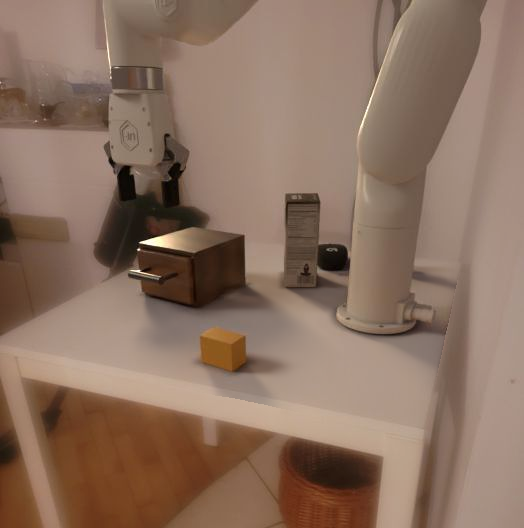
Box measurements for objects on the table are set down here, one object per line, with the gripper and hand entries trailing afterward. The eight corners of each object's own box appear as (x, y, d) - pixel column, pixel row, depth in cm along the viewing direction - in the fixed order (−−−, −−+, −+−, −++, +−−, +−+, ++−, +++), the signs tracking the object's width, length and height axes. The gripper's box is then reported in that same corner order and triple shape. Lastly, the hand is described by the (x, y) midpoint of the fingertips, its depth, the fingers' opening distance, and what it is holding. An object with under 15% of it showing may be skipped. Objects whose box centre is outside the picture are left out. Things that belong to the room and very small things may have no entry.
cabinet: (197, 307, 84) (194, 252, 80) (144, 294, 90) (138, 242, 86) (245, 284, 95) (244, 234, 91) (195, 273, 101) (192, 226, 97)
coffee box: (283, 273, 101) (284, 192, 94) (314, 273, 101) (317, 192, 94) (283, 287, 93) (285, 200, 86) (317, 287, 93) (322, 200, 86)
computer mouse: (314, 271, 102) (315, 252, 101) (311, 255, 113) (311, 238, 111) (350, 271, 102) (352, 252, 100) (343, 255, 113) (345, 238, 111)
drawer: (171, 313, 79) (167, 266, 76) (122, 299, 85) (116, 255, 81) (236, 282, 93) (235, 241, 90) (190, 272, 99) (187, 234, 95)
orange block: (246, 362, 66) (245, 335, 64) (232, 371, 64) (231, 344, 62) (215, 352, 69) (214, 326, 67) (201, 361, 66) (199, 335, 64)
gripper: (78, 83, 73) (95, 201, 81) (163, 81, 65) (173, 213, 72) (117, 84, 79) (129, 195, 86) (200, 83, 70) (205, 205, 78)
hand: (149, 203), depth 79 cm, fingers open, 9 cm apart
